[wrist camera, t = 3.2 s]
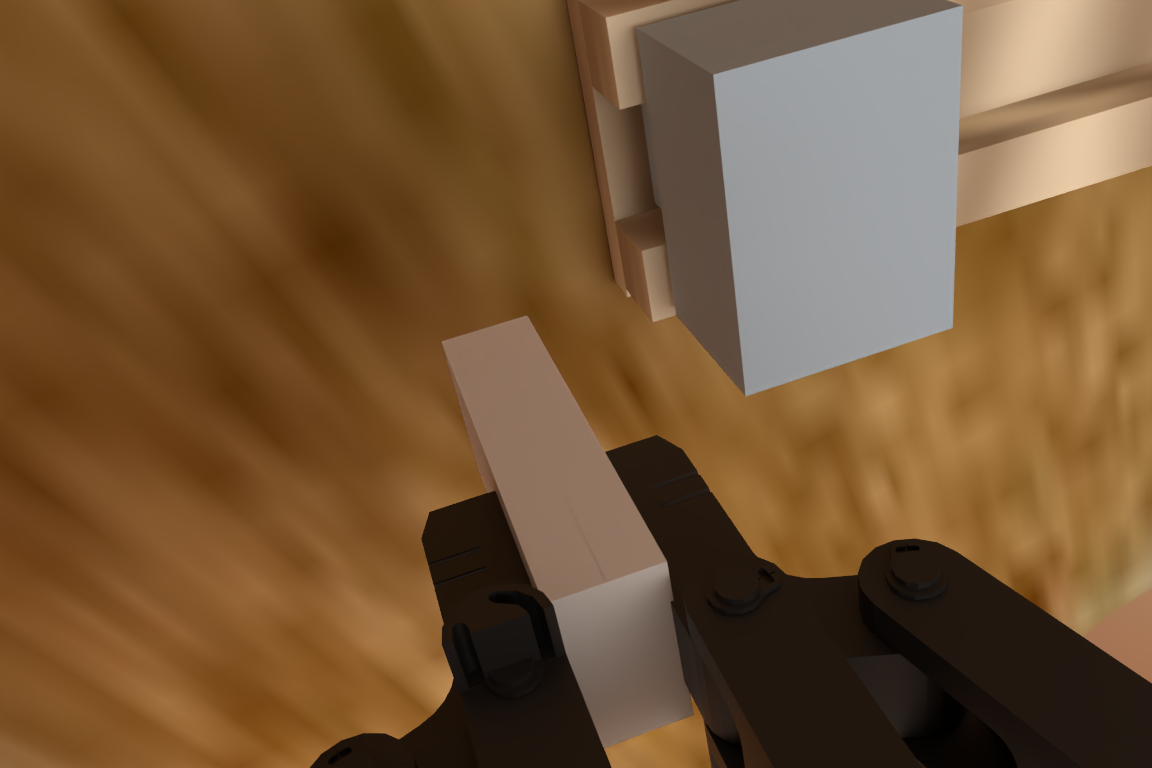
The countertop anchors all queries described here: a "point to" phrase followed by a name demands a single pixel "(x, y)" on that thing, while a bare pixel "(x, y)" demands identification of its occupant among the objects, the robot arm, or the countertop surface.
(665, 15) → the rail
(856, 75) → the rider
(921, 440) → the countertop surface
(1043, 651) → the robot arm
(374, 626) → the countertop surface
